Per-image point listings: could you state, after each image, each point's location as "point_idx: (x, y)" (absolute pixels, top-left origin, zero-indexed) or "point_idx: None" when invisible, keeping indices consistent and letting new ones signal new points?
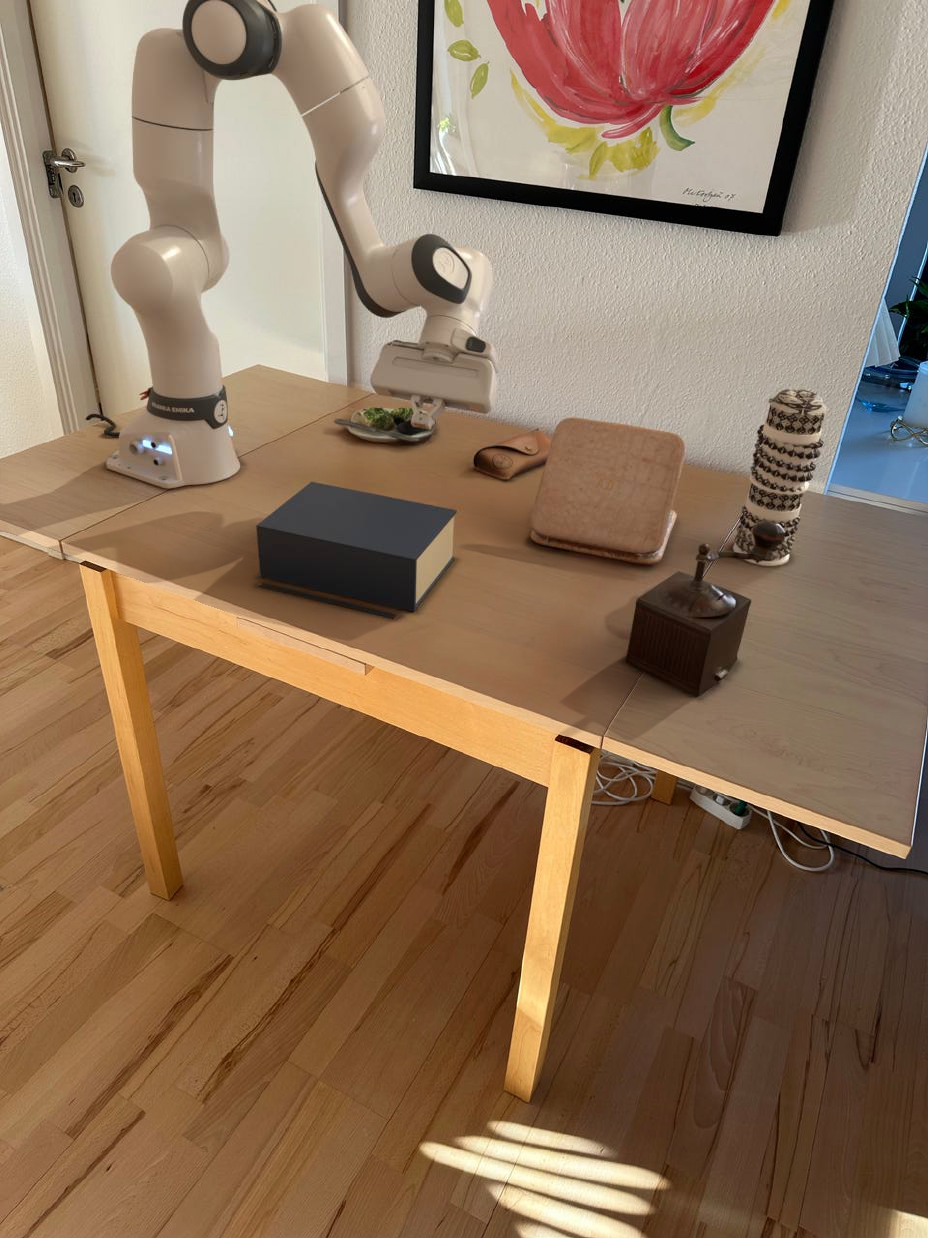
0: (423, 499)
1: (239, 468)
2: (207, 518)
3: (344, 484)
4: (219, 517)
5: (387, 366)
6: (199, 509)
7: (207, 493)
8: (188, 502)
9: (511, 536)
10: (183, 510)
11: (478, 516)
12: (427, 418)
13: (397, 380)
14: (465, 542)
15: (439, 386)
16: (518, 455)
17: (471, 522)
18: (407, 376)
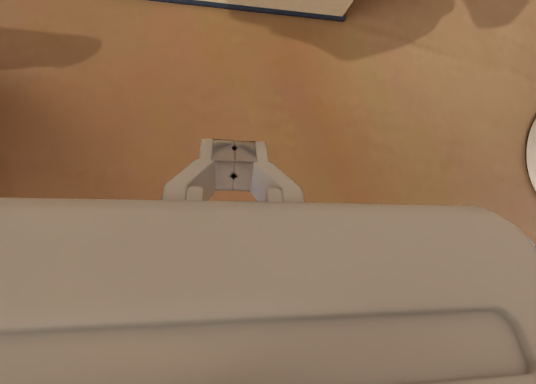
0: (227, 197)
1: (529, 176)
2: (487, 8)
3: (370, 197)
4: (475, 16)
5: (512, 289)
6: (509, 31)
7: (525, 83)
8: (532, 47)
9: (20, 115)
10: (525, 21)
11: (108, 171)
12: (208, 148)
13: (404, 231)
14: (96, 62)
15: (176, 235)
16: None
17: (113, 142)
18: (374, 257)
